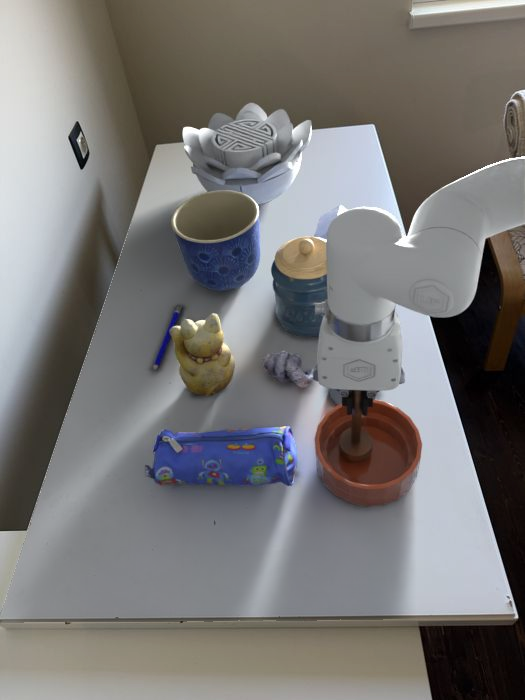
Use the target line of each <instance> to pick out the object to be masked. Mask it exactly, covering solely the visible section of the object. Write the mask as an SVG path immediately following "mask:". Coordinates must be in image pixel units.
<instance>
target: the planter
mask: <svg viewBox="0 0 525 700" xmlns="http://www.w3.org/2000/svg"><path fill="white" fill-rule="evenodd" d="M259 209H260V208H259V205H258V204H256V202H255V201H254V200H253V199H252V198H251V197H249V196H247V195H245V194H243V193H240V192H236V191H229V190H217V191H210V192H207V191H206V192H202V193H199V194H196V195H194V196H191V197H189V198H188V199H186V200H185V201H182V203H180V204H179V205H178V207H176V209H175V210H174V212H173V213H172V215H171V219H170V226H171V228H172V231H173V234H174V236H175V241H176V243H177V246H178V248H179V251H180V254H181V257H182V259H183V262H184V265H185V268H186V270H187V271H188V273H189V274H190V276H191V277H192V279H193V280H194V281H195V282H196V283H198V284H199V285H200V286H201V287H204V288H206V289H209V290H212V291H221V292H223V291H230V290H235V289H238V288H239V287H242V286H243V285H245V284H246V283H247V282H248V281H250V280H251V279H252V277H254V275H255V274H256V272H257V270H258V268H259V265H260V261H261V231H260V210H259Z"/></svg>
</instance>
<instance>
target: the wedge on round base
mask: <svg viewBox="0 0 525 700" xmlns="http://www.w3.org/2000/svg"><path fill="white" fill-rule="evenodd" d="M347 210H348V209H347V208H345V206H343V205H341V204H340V205H339V206H337V207H334V208H333V209H331V210H330V211H327V212H326V213H325V214H323V215H320V217H319V219H318V222H317V226H316V229H315V232H314V235H313V237H318V238H322V239H325V240H326V235H327V230H328V228H329V226H330V223H331V222H332V221H333V220H334V218H335V217H337V216H338V215H339V214H341V213H342V212H345V211H347Z"/></svg>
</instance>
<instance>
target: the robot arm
mask: <svg viewBox="0 0 525 700" xmlns="http://www.w3.org/2000/svg"><path fill="white" fill-rule="evenodd" d="M411 220H412V221H411V223H410V226H409V229H408V231H407V232H408V233H407V236H405V235H404V234H403V230H402V227H401V225H400V224H401V223H399V221H398V219H397V218H396V217H395V216H394V215H392V213H389V212H388V211H386V210H383V209H381V208H378V207H370V206H360V207H359V206H358V207H353V208H350V209H347V211H345V212H342V213H341V214H339V215H338V216H337V217H335V218H334V220H333V221H332V222H331V223H330V226H329V228H328V230H327V235H326V258H327V295H328V300H327V299H325V302H322V303H315V314H321V316H323V319H322V323H321V328H320V332H319V336H318V342H317V363H316V365H315V367H314V368H313V369H314V371H313V380H312V381H315V382H318V384H319V385H320V386H322V387H324V388H326V389H336V390H337V391H339V392H340V396H342V406H347V415H351V414H352V402H353V391H352V390H363V395H362V415H363V416H367V408H368V407H373V398H374V397H376V393H377V394H378V393H379V392H382V391H383V392H385V391H392V390H395V389H397V388H398V387H399V386H400V385H402V384H403V385H404V384H405V383H406V376H405V371H404V369H403V367H402V364H403V335H402V334H403V332H402V327H401V322H400V317H399V315H398V314H397V312H396V305H398V306H400V307H403V308H404V309H407V310H410V311H413V312H415V313H418V314H421V315H424V316H428V317H432V318H443V319H444V318H451V317H454V316H458V315H460V314H462V313H463V312H465V311H466V310H467V309H468V308H469V307H470V306H471V304H472V302H473V300H474V299H475V296H476V293H477V289H478V283H479V278H480V272H481V266H482V260H483V253H484V249H485V244H486V239H489V238H491V237H493V236H495V235H498V234H502V233H503V232H507V231H509V230H512V229H514V228H517V227H520V226H524V225H525V156H521V157H515V158H509V159H505V160H501V161H499V162H496V163H493V164H490V165H487V166H485V167H483V168H481V169H478V170H476V171H474V172H472V173H470V174H468V175H466V176H464V177H461V178H458V179H457V180H455V181H453V182H451V183H449V184H447V185H445V186H443V187H441V188H440V189H438V190H437V191H435V192H433V193H432V194H431V195H429V197H427V198H426V199H425V200H423V202H422V203H421V204H420V206H419V207H418V208H417V209H416V211H415V213H414V215H413V217H412V219H411ZM376 398H377V397H376Z"/></svg>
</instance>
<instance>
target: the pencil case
mask: <svg viewBox="0 0 525 700" xmlns="http://www.w3.org/2000/svg"><path fill="white" fill-rule="evenodd" d="M152 453H154V456H153V459H152V460H153V462H152V466H151V465H148V464H145V465H144V475H145V478H150V479H152V480H153V481H154V483H156V484H157V485H159V486H168V485H173V484H174V485H176V484H177V485H178V484H181V485H182V484H183V485H205V486H263V485H271V484H278V483H282V484H284V485H285V486H287V487H289V486H293V485H294V483H295V477H296V471H297V468H298V450H297V445H296V442H295V437H294V433H293V429H292V428H291V427H290V426H286V425H284V426H275V427H250V428H237V429H236V428H234V429H233V428H232V429H231V428H230V429H223V430H215V431H213V430H212V431H201V432H198V431H197V432H196V431H193V432H192V431H185V432H182V431H181V432H180V431H177V432H176V433H175V432H174V433H173V431H172V430H170V429H167V428H164V429H163V430H161V431H160V433H159V434H157V436H156V438H155V443H154V445H153V449H152Z"/></svg>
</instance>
